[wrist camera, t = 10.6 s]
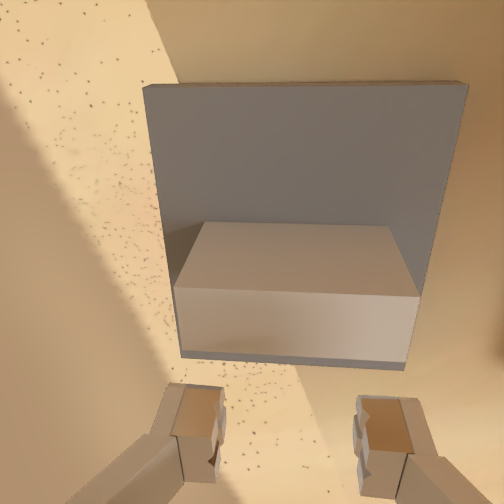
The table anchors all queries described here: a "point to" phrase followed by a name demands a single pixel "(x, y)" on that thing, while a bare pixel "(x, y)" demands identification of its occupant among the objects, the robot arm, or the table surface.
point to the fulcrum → (301, 214)
